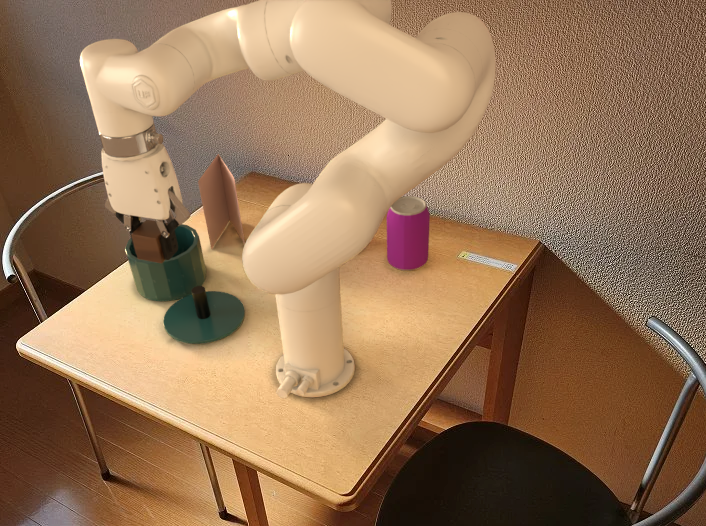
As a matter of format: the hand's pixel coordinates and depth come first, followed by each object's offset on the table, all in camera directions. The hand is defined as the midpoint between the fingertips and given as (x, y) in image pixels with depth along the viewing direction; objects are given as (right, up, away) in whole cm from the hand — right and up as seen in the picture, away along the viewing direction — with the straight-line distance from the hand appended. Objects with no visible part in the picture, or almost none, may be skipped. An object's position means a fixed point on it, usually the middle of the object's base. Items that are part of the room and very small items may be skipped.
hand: (156, 251), depth 113 cm
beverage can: (+43, +3, +26) cm, 50 cm away
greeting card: (+9, +10, +39) cm, 41 cm away
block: (0, 0, 0) cm, 0 cm away
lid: (+5, -9, +18) cm, 21 cm away
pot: (-2, 0, +29) cm, 29 cm away
